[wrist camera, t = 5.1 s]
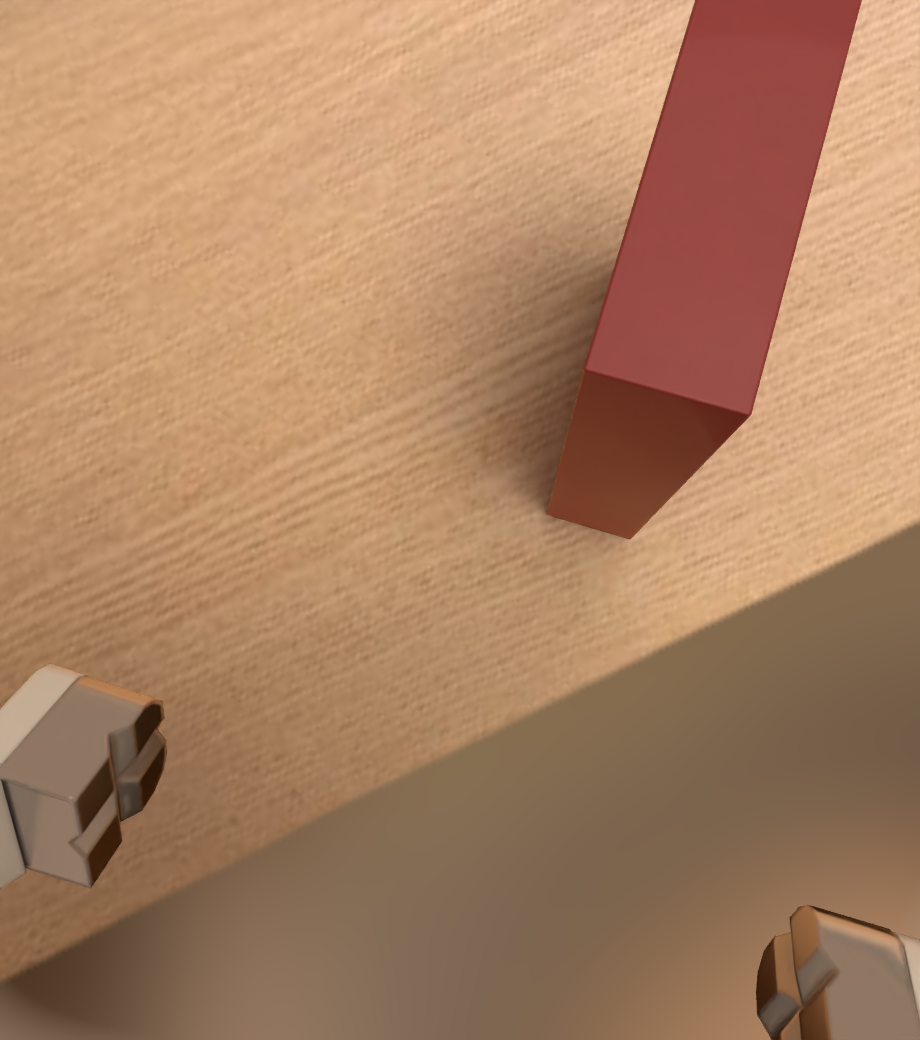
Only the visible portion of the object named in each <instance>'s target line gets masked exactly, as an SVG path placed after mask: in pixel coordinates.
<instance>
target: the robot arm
mask: <svg viewBox="0 0 920 1040" xmlns="http://www.w3.org/2000/svg"><path fill="white" fill-rule="evenodd" d="M164 718H165V717H164V709H163V702H162V701H161V700H158V699H155V698H152V697H149V696H146V695H143V694H140V693H137V692H134V691H131V690H128V689H125V688H122V687H119V686H116V685H113V684H110V683H107V682H104V681H101V680H98V679H95V678H92V677H89V676H88V675H84V674H81V673H78V672H75V671H72V670H68V669H65V668H62V667H59V666H56V665H53V664H48V665H46V666H44V667H42V668H41V669H39V670H37V671H36V672H34V673H33V674H32V675H31V676H30V677H29V678H28V679H27V680H26V682H25V683H24V684H23V685H22V686H21V687H20V688H19V689H18V690H17V691H16V692H15V693H14V694H13V695H12V696H11V697H10V698H9V700H8V701H7V702H6V703H5V704H4V705H3V706H2V707H1V708H0V889H2V888H4V887H5V886H7V885H8V884H10V883H11V882H13V881H14V880H16V879H17V878H19V877H21V876H22V875H24V874H25V873H26V869H25V868H27V869H30V870H33V871H36V872H39V873H43V874H46V875H49V876H52V877H55V878H59V879H62V880H65V881H68V882H72V883H75V884H78V885H81V886H84V887H88V888H91V887H92V886H93V884H94V883H95V881H96V880H97V878H98V877H99V875H100V874H101V872H102V871H103V869H104V868H105V866H106V865H107V863H108V862H109V860H110V859H111V857H112V856H113V854H114V853H115V851H116V850H117V848H118V847H119V845H120V844H121V842H122V832H121V822H122V821H123V820H125V819H127V818H129V817H131V816H133V815H135V814H137V813H138V812H140V811H142V810H143V808H144V807H145V805H146V804H147V802H148V800H149V799H150V797H151V796H152V794H153V793H154V791H155V789H156V786H157V784H158V782H159V779H160V777H161V774H162V772H163V770H164V765H165V760H166V755H167V745H166V739H165V738H164V737H163V736H162V734H161V733H160V732H159V731H158V729H157V728H158V727H159V725H160V724H161V722H162V721H163V719H164ZM790 927H791V932H789V933H786V934H782V935H778V936H774V938H773V939H772V941H771V942H770V943H769V945H768V946H767V947H766V949H765V950H764V953H763V956H762V959H761V963H760V966H759V970H758V975H757V988H756V996H757V997H756V1000H757V1015H758V1017H759V1019H760V1020H761V1022H762V1024H763V1026H764V1027H765V1029H766V1030H767V1032H768V1034H769V1036H770V1038H771V1039H772V1040H920V940H919V939H916V938H912V937H909V936H906V935H902V934H899V933H896V932H892V931H891V930H890V929H887V928H884V927H881V926H877V925H874V924H871V923H867V922H864V921H861V920H857V919H854V918H851V917H847V916H844V915H841V914H837V913H834V912H831V911H827V910H824V909H820V908H817V907H814V906H811V905H805V906H800V907H798V908H797V910H796V911H795V912H794V913H793V914H792V916H791V917H790Z"/></svg>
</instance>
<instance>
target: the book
mask: <svg viewBox="0 0 920 1040" xmlns="http://www.w3.org/2000/svg"><path fill="white" fill-rule="evenodd" d="M861 1H862V0H695V3H694V6H693V9H692V13H691V16H690V19H689V23H688V26H687V29H686V32H685V36H684V39H683V42H682V46H681V49H680V52H679V55H678V59H677V62H676V65H675V69H674V72H673V75H672V78H671V82H670V85H669V88H668V92H667V95H666V98H665V101H664V105H663V108H662V111H661V115H660V118H659V121H658V125H657V128H656V131H655V134H654V138H653V141H652V144H651V148H650V151H649V154H648V157H647V161H646V164H645V167H644V171H643V174H642V177H641V180H640V184H639V187H638V190H637V194H636V197H635V200H634V203H633V207H632V210H631V213H630V217H629V220H628V223H627V227H626V230H625V233H624V236H623V240H622V243H621V246H620V250H619V253H618V256H617V259H616V263H615V266H614V269H613V273H612V276H611V279H610V282H609V286H608V289H607V292H606V296H605V299H604V302H603V305H602V309H601V312H600V315H599V319H598V322H597V325H596V328H595V332H594V335H593V338H592V342H591V345H590V348H589V352H588V355H587V358H586V361H585V365H584V368H583V372H582V376H581V380H580V384H579V388H578V391H577V395H576V399H575V403H574V407H573V411H572V415H571V419H570V423H569V427H568V431H567V435H566V439H565V443H564V446H563V450H562V454H561V458H560V462H559V466H558V470H557V474H556V478H555V482H554V486H553V490H552V494H551V497H550V501H549V505H548V509H547V515H550V516H553V517H557V518H560V519H564V520H567V521H570V522H574V523H577V524H580V525H584V526H587V527H591V528H594V529H597V530H601V531H604V532H607V533H611V534H614V535H618V536H621V537H624V538H628V539H631V538H632V537H633V536H634V535H635V534H636V533H637V532H638V531H639V530H640V529H641V528H642V527H643V526H644V525H645V524H646V523H647V522H648V521H649V520H650V518H651V517H652V516H653V515H654V514H655V513H656V512H657V511H658V510H659V509H660V508H661V507H662V506H663V505H664V504H665V503H666V502H667V501H668V500H669V499H670V498H671V497H672V496H673V495H674V494H675V493H676V492H677V491H678V490H679V489H680V488H681V487H682V485H683V484H684V483H685V482H686V481H687V480H688V479H689V478H690V477H691V476H692V475H693V474H694V473H695V472H696V471H697V470H698V469H699V468H700V467H701V466H702V465H703V464H704V463H705V462H706V461H707V460H708V459H709V458H710V457H711V456H712V455H713V454H714V452H715V451H716V450H717V449H718V448H719V447H720V446H721V445H722V444H723V443H724V442H725V441H726V440H727V439H728V438H729V437H730V436H731V435H732V434H733V433H734V432H735V431H736V430H737V429H738V428H739V427H740V426H741V425H742V424H743V423H744V422H745V421H746V419H747V418H748V417H749V416H750V415H751V413H752V409H753V406H754V402H755V398H756V394H757V391H758V387H759V383H760V379H761V376H762V372H763V368H764V364H765V361H766V357H767V353H768V350H769V346H770V342H771V338H772V335H773V331H774V327H775V323H776V320H777V316H778V312H779V308H780V305H781V301H782V297H783V293H784V290H785V286H786V282H787V278H788V275H789V271H790V267H791V263H792V260H793V256H794V252H795V248H796V245H797V241H798V237H799V233H800V230H801V226H802V222H803V219H804V215H805V211H806V207H807V204H808V200H809V196H810V192H811V189H812V185H813V181H814V177H815V174H816V170H817V166H818V162H819V159H820V155H821V151H822V147H823V144H824V140H825V136H826V132H827V129H828V125H829V121H830V117H831V114H832V110H833V106H834V102H835V99H836V95H837V91H838V87H839V84H840V80H841V76H842V73H843V69H844V65H845V61H846V58H847V54H848V50H849V46H850V43H851V39H852V35H853V31H854V28H855V24H856V20H857V16H858V13H859V9H860V5H861Z"/></svg>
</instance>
